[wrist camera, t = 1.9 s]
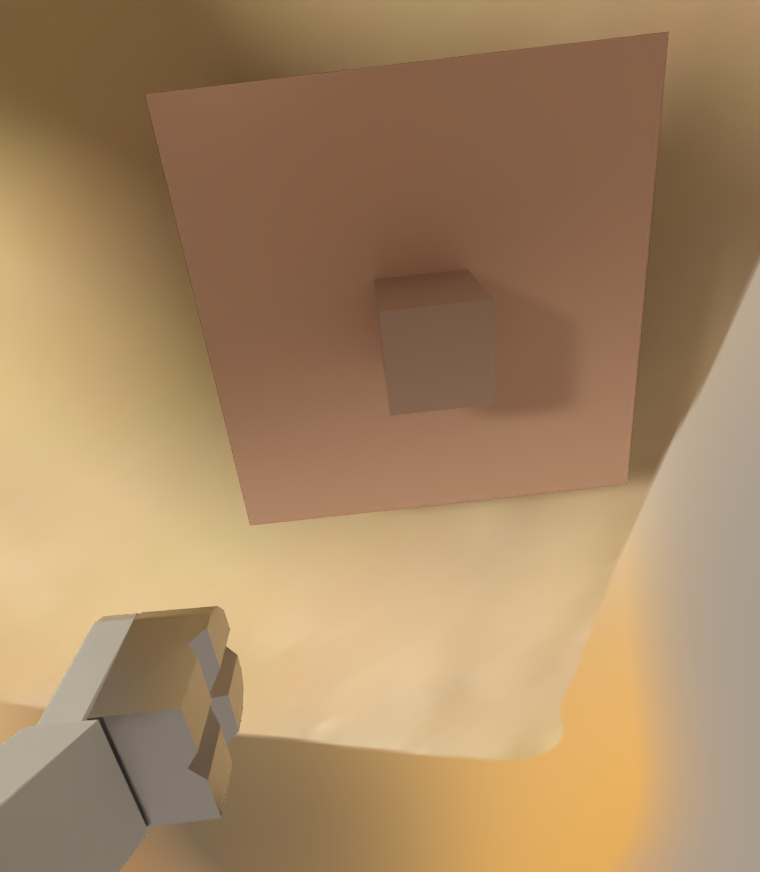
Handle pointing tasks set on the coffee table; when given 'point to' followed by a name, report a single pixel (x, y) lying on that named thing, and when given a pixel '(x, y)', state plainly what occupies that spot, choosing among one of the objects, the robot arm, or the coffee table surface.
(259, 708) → the coffee table surface
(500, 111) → the lid
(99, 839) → the robot arm
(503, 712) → the coffee table surface
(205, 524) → the coffee table surface
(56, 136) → the coffee table surface
